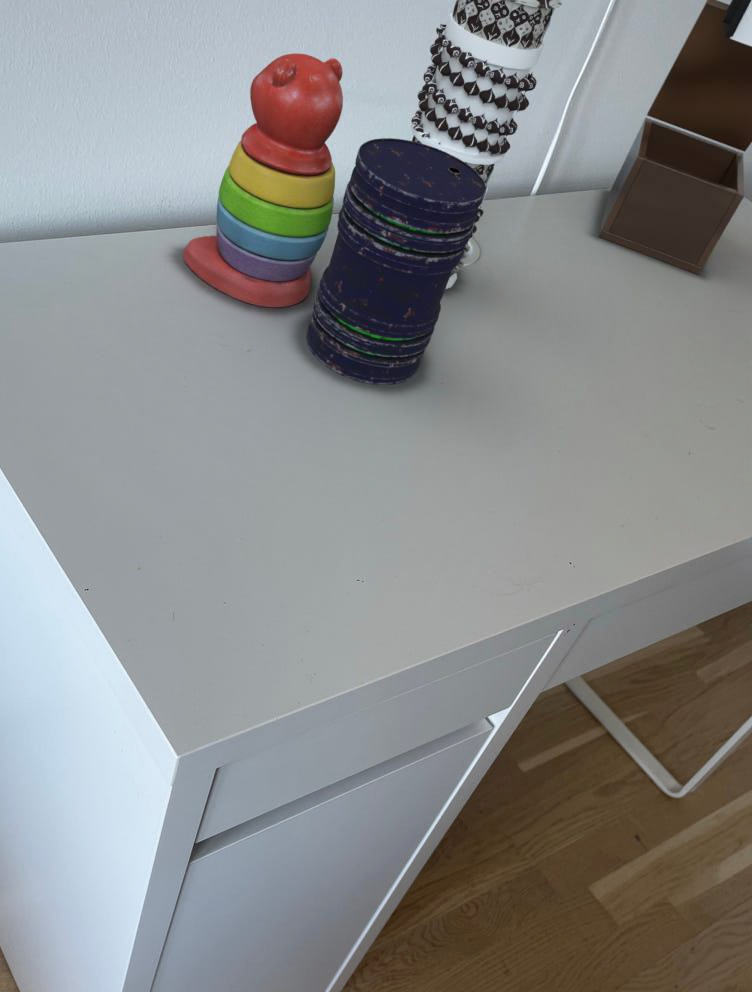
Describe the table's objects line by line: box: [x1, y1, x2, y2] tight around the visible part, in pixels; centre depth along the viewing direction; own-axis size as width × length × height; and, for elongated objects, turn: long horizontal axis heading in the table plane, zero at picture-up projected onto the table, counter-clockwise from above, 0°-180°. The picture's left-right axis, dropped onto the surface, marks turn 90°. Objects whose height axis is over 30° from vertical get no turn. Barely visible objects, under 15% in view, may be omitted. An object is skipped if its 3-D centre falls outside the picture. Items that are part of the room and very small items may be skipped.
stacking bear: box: [182, 53, 344, 308], centre depth 79 cm, size 11×10×18 cm
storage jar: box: [305, 137, 487, 386], centre depth 76 cm, size 10×10×15 cm
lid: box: [646, 0, 752, 153], centre depth 104 cm, size 14×12×5 cm
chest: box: [598, 117, 745, 275], centre depth 110 cm, size 14×12×9 cm
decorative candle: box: [410, 0, 563, 290], centre depth 85 cm, size 9×9×25 cm
